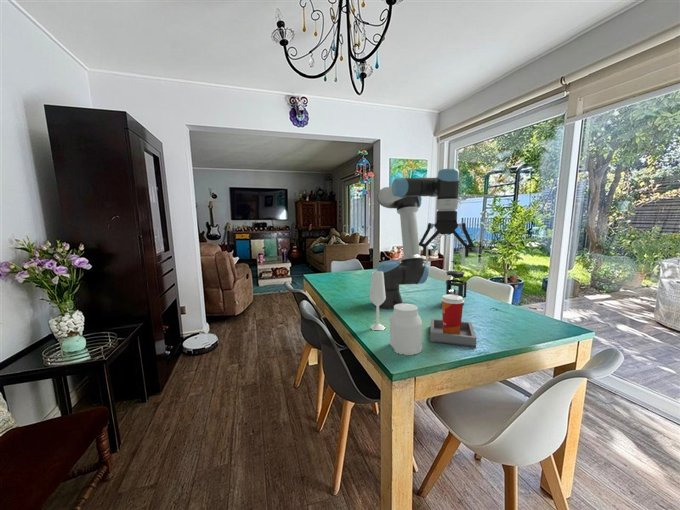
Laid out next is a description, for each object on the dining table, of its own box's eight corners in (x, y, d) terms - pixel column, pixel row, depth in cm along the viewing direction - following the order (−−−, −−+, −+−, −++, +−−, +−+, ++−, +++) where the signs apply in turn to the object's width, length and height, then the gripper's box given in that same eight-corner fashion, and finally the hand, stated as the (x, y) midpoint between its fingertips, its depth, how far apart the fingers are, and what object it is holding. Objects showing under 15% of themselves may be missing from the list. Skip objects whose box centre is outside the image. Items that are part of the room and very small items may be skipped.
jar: (425, 354, 93) (425, 311, 91) (397, 356, 92) (398, 313, 90) (411, 339, 104) (412, 301, 102) (387, 341, 103) (387, 302, 101)
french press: (450, 306, 141) (451, 262, 138) (440, 301, 150) (441, 260, 147) (470, 305, 143) (472, 261, 140) (459, 300, 152) (460, 259, 149)
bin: (430, 341, 102) (430, 332, 102) (430, 326, 116) (431, 318, 116) (476, 347, 97) (476, 337, 96) (470, 330, 111) (471, 322, 111)
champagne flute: (366, 328, 116) (366, 272, 112) (374, 323, 121) (374, 270, 118) (380, 332, 111) (380, 274, 108) (388, 326, 117) (388, 271, 114)
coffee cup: (445, 328, 112) (446, 292, 111) (466, 334, 107) (467, 296, 105) (436, 334, 107) (437, 297, 105) (457, 341, 101) (458, 301, 99)
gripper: (412, 211, 107) (411, 264, 110) (484, 209, 99) (480, 267, 102) (414, 210, 114) (413, 261, 117) (481, 209, 106) (477, 263, 109)
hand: (444, 264), depth 110 cm, fingers open, 13 cm apart
